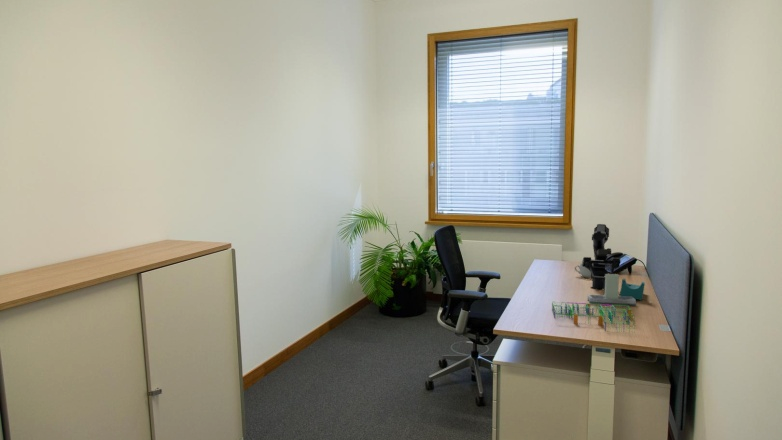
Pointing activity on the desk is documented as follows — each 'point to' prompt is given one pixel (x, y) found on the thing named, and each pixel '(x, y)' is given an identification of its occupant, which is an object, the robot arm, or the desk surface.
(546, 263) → the desk surface
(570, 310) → the house model
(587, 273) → the teacup
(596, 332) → the desk surface
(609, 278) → the door panel
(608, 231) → the robot arm
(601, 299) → the door track
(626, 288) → the teal curved piece
